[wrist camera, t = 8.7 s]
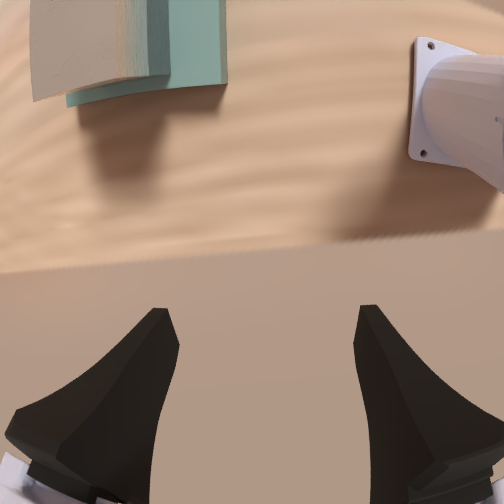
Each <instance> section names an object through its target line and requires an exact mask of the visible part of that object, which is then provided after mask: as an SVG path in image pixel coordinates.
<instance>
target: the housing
mask: <svg viewBox="0 0 504 504" xmlns="http://www.w3.org/2000/svg"><path fill="white" fill-rule="evenodd" d="M30 68H31V83H32V94H33V102H35V101H39V100H43V99H47V98H51V97H56V96H60V95H64V94H69V93H74V92H79V91H84V90H90V89H95V88H101V87H106V86H110V85H115V84H119V83H124V82H129V81H135V80H140V79H146V78H152V77H159V76H165V75H171V61H170V37H169V0H31V3H30Z"/></svg>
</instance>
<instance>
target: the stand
mask: <svg viewBox="0 0 504 504" xmlns="http://www.w3.org/2000/svg"><path fill="white" fill-rule="evenodd" d="M169 37H170V61H171V75H165V76H159V77H152V78H146V79H140V80H135V81H129V82H124V83H119V84H115V85H110V86H106V87H101V88H95V89H90V90H84V91H79V92H74V93H69V94H66V102H67V108H69V107H73V106H77V105H81V104H85V103H89V102H94V101H98V100H103V99H108V98H113V97H118V96H123V95H129V94H135V93H141V92H148V91H155V90H162V89H170V88H179V87H189V86H200V85H214V84H227V83H228V74H227V40H226V0H169Z"/></svg>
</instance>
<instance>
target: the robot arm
mask: <svg viewBox="0 0 504 504" xmlns="http://www.w3.org/2000/svg"><path fill="white" fill-rule="evenodd" d="M428 42H429V43H430V44H431V45H432V49H431V50H430V49H429V48H428V45H427V44H428ZM422 150H425V154H424V155H423V156H420V152H421V151H422ZM408 154H409V156H410V157H411V158H412V159H414V160H418V161H425V162H432V163H438V164H445V165H451V166H456V167H462V168H467V169H469V170H471V171H472V172H473V173H475V174H476V175H478V176H479V177H481V178H482V179H484V180H485V181H487V182H488V183H489V184H491V185H492V186H494V187H495V188H496V189H498V190H499V191H500V192H502V193H503V194H504V56H503V55H479V54H477V53H474V52H471V51H469V50H466V49H463V48H460V47H457V46H454V45H451V44H448V43H444V42H441V41H438V40H434V39H431V38H427V37H422V36H420V37H417V38H416V39H415V42H414V86H413V103H412V116H411V127H410V137H409V146H408ZM179 345H180V344H179V341H178V339H177V336H176V333H175V330H174V327H173V324H172V321H171V318H170V315H169V312H168V309H166V308H153V309H152V310H151V311H150V312H149V313H148V314H147V315H146V316H145V317H144V318H143V319H142V320H141V321H140V322H139V323H138V324H137V325H136V326H135V327H134V328H133V329H132V330H131V331H130V332H129V333H128V334H127V335H126V336H125V337H124V338H123V339H122V340H121V341H120V342H119V343H118V344H117V345H116V346H115V347H114V348H113V349H111V350H110V351H109V352H108V353H107V354H106V355H105V356H104V357H103V358H102V359H101V360H99V362H97V363H96V364H95V365H94V366H92V367H91V368H90V369H89V370H87V371H86V372H85V373H83V374H82V375H81V376H79V377H78V378H76V379H75V380H73V381H72V382H70V383H69V384H67V385H66V386H64V387H63V388H61V389H59V390H58V391H56V392H54V393H53V394H51V395H49V396H47V397H45V398H43V399H41V400H39V401H37V402H34V403H32V404H30V405H27V406H25V407H23V408H20V409H17V410H16V412H15V414H14V416H13V417H12V420H11V421H10V423H9V425H8V428H7V430H6V432H5V436H6V438H7V439H8V440H9V441H10V442H11V443H12V444H13V445H14V446H16V447H17V448H18V449H19V450H20V451H22V452H23V453H24V454H25V455H27V456H28V457H29V458H30V459H32V461H31V464H28V463H26V462H25V461H23V460H21V459H20V458H18V457H16V456H14V455H13V454H11V453H9V452H6V453H5V456H4V458H3V460H2V462H1V465H0V504H118V503H121V504H149V491H150V475H151V464H152V456H153V449H154V442H155V436H156V430H157V425H158V420H159V417H160V413H161V410H162V407H163V404H164V401H165V398H166V395H167V392H168V388H169V385H170V382H171V379H172V376H173V373H174V370H175V366H176V362H177V356H178V351H179ZM353 345H354V355H355V363H356V369H357V373H358V378H359V383H360V387H361V391H362V396H363V400H364V405H365V410H366V414H367V420H368V428H369V440H370V460H371V491H370V504H504V477H502V478H500V479H498V480H496V481H495V482H493V483H491V481H490V477H491V476H493V469H492V466H493V465H494V464H496V463H497V462H498V461H499V460H501V459H502V458H503V457H504V422H503V421H501V420H500V419H498V418H496V417H494V416H492V415H490V414H489V413H486V412H485V411H483V410H482V409H480V408H479V407H477V406H476V405H474V404H472V403H471V402H470V401H468V400H467V399H465V398H464V397H463V396H461V395H460V394H459V393H458V392H456V391H455V390H454V389H452V388H451V387H450V386H449V385H447V384H446V383H445V382H444V381H443V380H442V379H440V378H439V377H438V376H437V375H436V374H435V373H434V372H433V371H432V370H431V369H430V368H429V367H428V366H427V365H426V364H425V363H424V362H423V361H422V360H421V359H420V357H418V355H417V354H416V353H415V352H414V351H413V350H412V349H411V347H410V346H409V345H408V344H407V343H406V342H405V340H404V339H403V338H402V337H401V336H400V334H399V333H398V332H397V331H396V329H395V328H394V327H393V326H392V324H391V323H390V321H389V320H388V319H387V318H386V316H385V315H384V314H383V312H382V311H381V310H380V309H379V307H378V306H377V305H361V306H360V311H359V316H358V322H357V328H356V332H355V338H354V342H353Z"/></svg>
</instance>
